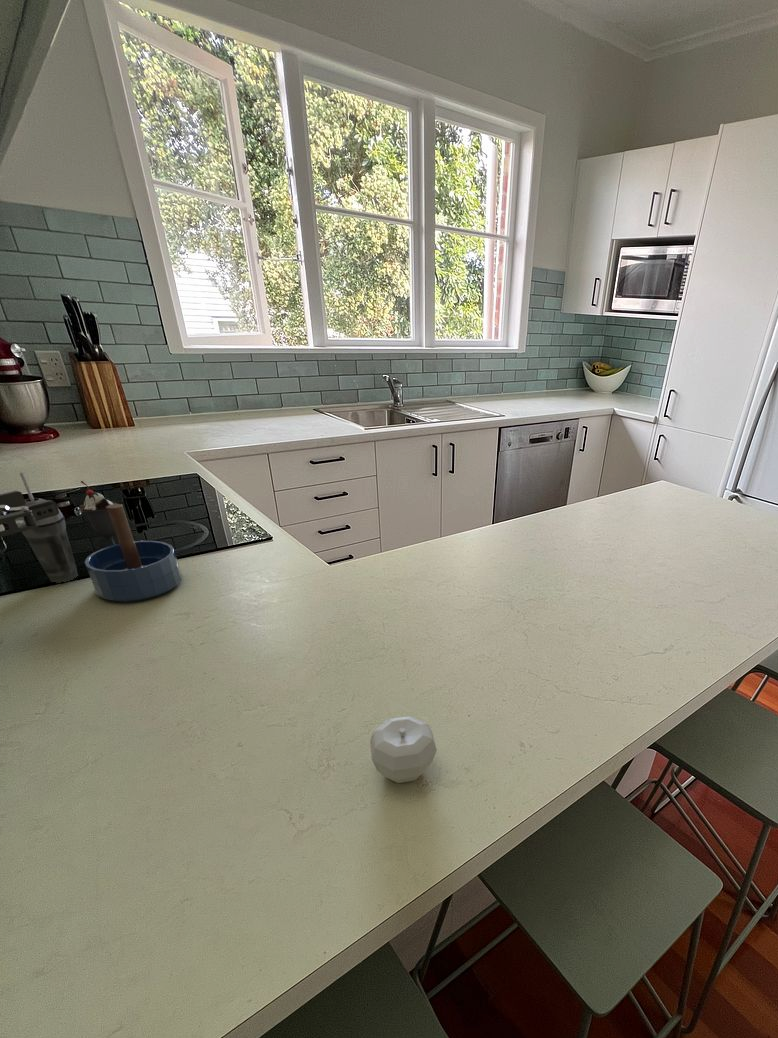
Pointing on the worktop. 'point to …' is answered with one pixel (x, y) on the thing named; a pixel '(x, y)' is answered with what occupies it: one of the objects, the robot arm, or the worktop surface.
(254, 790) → the worktop surface
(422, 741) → the apple
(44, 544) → the beverage cup
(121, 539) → the brown pestle
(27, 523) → the robot arm
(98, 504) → the sundae
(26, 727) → the worktop surface
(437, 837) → the worktop surface
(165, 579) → the bowl
